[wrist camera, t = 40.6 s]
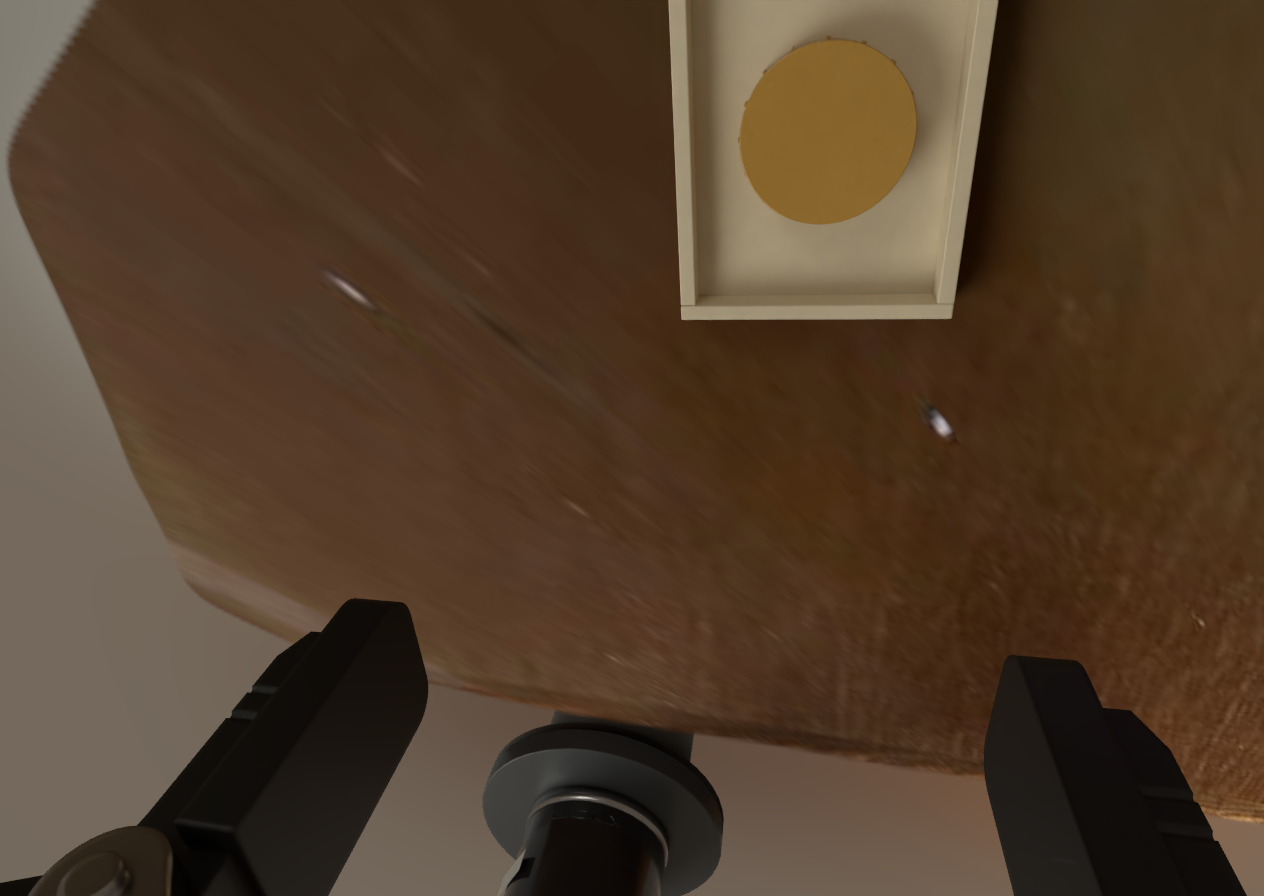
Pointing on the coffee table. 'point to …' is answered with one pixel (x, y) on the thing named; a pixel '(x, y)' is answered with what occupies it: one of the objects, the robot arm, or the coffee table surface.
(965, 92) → the tray
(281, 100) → the coffee table surface
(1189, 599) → the coffee table surface
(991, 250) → the coffee table surface
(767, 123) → the jar lid
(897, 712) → the coffee table surface
